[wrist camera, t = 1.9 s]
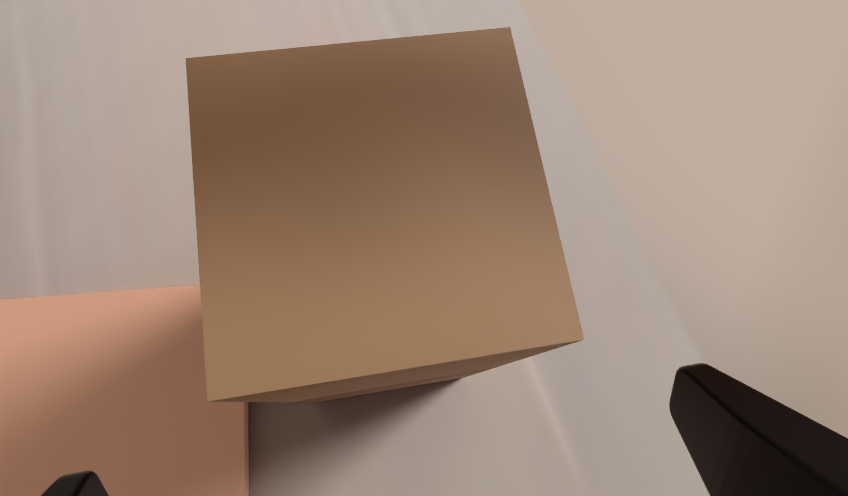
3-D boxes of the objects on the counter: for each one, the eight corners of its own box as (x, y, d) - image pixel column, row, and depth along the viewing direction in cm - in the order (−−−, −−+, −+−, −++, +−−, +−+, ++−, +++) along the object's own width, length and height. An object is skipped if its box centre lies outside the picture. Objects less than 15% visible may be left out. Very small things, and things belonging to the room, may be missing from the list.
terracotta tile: (250, 647, 17) (246, 656, 16) (-154, 702, 15) (-175, 714, 15) (246, 285, 19) (242, 281, 19) (-95, 311, 18) (-111, 308, 18)
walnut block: (461, 377, 19) (583, 339, 8) (315, 402, 19) (206, 401, 7) (437, 239, 20) (509, 27, 9) (299, 258, 20) (185, 58, 8)
